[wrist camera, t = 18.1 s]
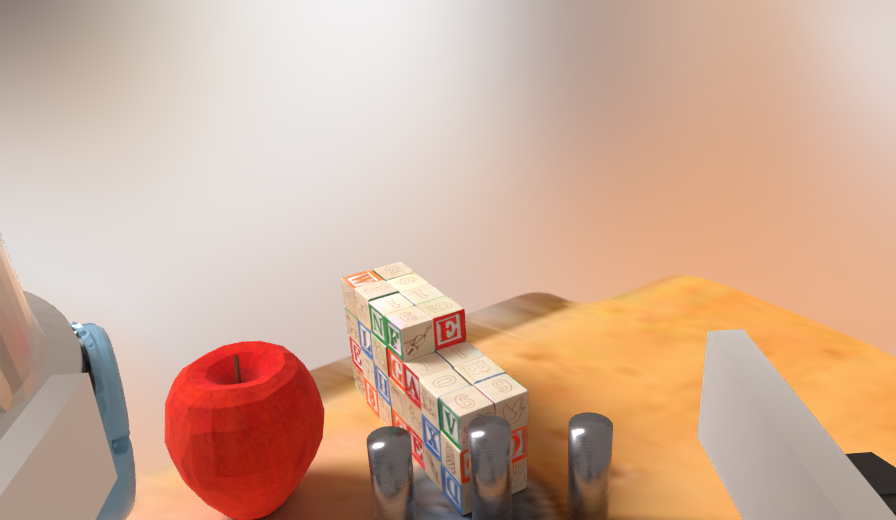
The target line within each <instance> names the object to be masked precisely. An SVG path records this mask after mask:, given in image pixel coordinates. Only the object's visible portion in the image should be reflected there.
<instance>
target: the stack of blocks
mask: <svg viewBox="0 0 896 520" xmlns="http://www.w3.org/2000/svg"><path fill="white" fill-rule="evenodd" d="M341 283H342V289H343V296H344V303H345V313H346V321H347V329H348V334H349V337H350V346H351V353H352V360H353V363H352V367H353V374H354V380H355V387H356V389H357V390H358V391H359V393H360V394H361V395H362V396H363V397H364V399H365V400H366V401H367V404H368V405H369V406H370V407H371V409H372V410H373V411H374V412H375V413H376V415H377V416H378V417H379V418H380V419H381V421H382V422H383V423H384V425H385V426H397V427H401V428H403V429H405V430H406V431H408V433H409V434H410V440H411V452H412V455H413V456H414V458H415V459H416V460H417V461H418V463H419V464H420V465H421V466H422V467H423V468H424V470H425V471H426V474H427V475H428V476H429V477H430V478H431V480H432V481H433V482H434V483H435V485H436V486H437V487H438V488H439V489H440V491H441V492H442V493H444V495H445V496H446V497H447V499H448V500H449V501H450V502H451V503H452V504H453V506H454V507H455V508H456V509H457V510H458V512H459V513H460V514H461V515H462V516H463V515H465V514H468V513H470V512H472V508H471V487H470V467H469V446H468V425H469V423H470V422H471V421H472V420H473V419H475V418H477V417H480V416H484V415H495V416H499V417H502V418H504V419H506V420H507V421H508V422H509V424H510V426H511V462H512V494H514V493H517V492H519V491H521V490H523V489H525V488H526V487H527V458H526V457H527V425H526V424H527V423H528V391H527V389H526V388H524V387H523V386H522V385H520V384H519V383H518V382H517V381H515V380H514V379H513V378H512V377H510V376H509V375H508V374H506V373H505V371H504V370H503V369H501V368H500V367H499V366H498V365H496V364H495V363H494V362H493V361H491V360H490V359H489V358H488V357H485V355H484V354H483V353H482V352H480V351H479V350H478V349H476V348H475V347H474V346H472V345H471V344H470V343H467V342H466V328H465V311H464V309H463V308H462V307H461V306H460V305H458V304H457V303H456V302H454V301H453V300H451V299H450V298H449V297H447V296H445V295H444V294H443V293H441V292H440V291H439V290H437V289H436V288H434V287H433V286H431V285H430V284H429V283H428V282H427V281H425V280H424V279H422V278H421V277H420V276H419V275H417V274H416V273H414V271H413V270H411V269H410V268H409V267H408V266H406V265H405V264H404V263H402V262H398V263H394V264H390V265H386V266H382V267H378V268H374V269H373V271H372V270H368V271H364V272H360V273H357V274H353V275H350V276H346V277H343V278H341Z"/></svg>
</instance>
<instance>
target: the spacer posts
mask: <svg viewBox="0 0 896 520" xmlns="http://www.w3.org/2000/svg"><path fill="white" fill-rule="evenodd" d="M612 435H613V425H612V422H611V421H610V420H609V419H608V418H607V417H605V416H603V415H600V414H597V413H580V414H577V415H575V416H574V417H572V418H571V419H570V421H569V442H568V503H567V520H609V502H610V480H611V457H612ZM468 446H469V467H470V487H471V508H472V520H513V510H512V462H511V426H510V424H509V422H508V421H507V420H506V419H504V418H502V417H499V416H495V415H484V416H480V417H477V418H475V419H473V420H472V421H471V422H470V423H469V425H468ZM367 449H368V458H369V467H370V475H371V484H372V493H373V502H374V511H375V519H376V520H417V511H416V499H415V487H414V475H413V464H412V452H411V440H410V434H409V433H408V431H406V430H405V429H403V428H401V427H397V426H386V427H381V428H379V429H376V430H374V431H373V432H372V433H371V434H370V435H369V436H368V438H367Z"/></svg>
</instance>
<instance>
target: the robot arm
mask: <svg viewBox="0 0 896 520" xmlns="http://www.w3.org/2000/svg"><path fill="white" fill-rule="evenodd" d="M128 422H129V421H128V413H127V407H126V403H125V397H124V392H123V387H122V382H121V378H120V374H119V369H118V365H117V361H116V358H115V354H114V351H113V347H112V344H111V342H110V339H109V337H108V335H107V333H106V332H105V330H104V329H103V328H102V327H100V326H97V325H96V324H92V323H87V324H78V323H74V322H73V323H71V324H69V322H68V321H67V319H66V318H65V316H64V315H63V314H62V313H61V312H59V311H58V310H57V309H56V308H55V307H54V306H53V305H51V304H50V303H48V302H47V301H45V300H43V299H41V298H39V297H37V296H35V295H33V294H31V293H29V292H26V291H23V290H22V288H21V286H20V283H19V281H18V278H17V275H16V272H15V270H14V267H13V265H12V262H11V259H10V257H9V254H8V251H7V249H6V246H5V244H4V241H3V238H2V236H1V233H0V520H126V519H127V517H128V516H129V514H130V513H131V511H132V508H133V506H134V502H135V494H136V478H135V464H134V456H133V449H132V445H131V441H130V439H129V434H130V431H129V423H128ZM697 438H698V440H699V441H700V443H701V445H702V447H703V449H704V450H705V452H706V454H707V456H708V458H709V459H710V461H711V463H712V465H713V467H714V468H715V470H716V472H717V474H718V476H719V477H720V479H721V481H722V483H723V485H724V486H725V488H726V490H727V492H728V494H729V495H730V497H731V499H732V501H733V503H734V504H735V506H736V508H737V510H738V512H739V513H740V515H741V517H742V519H743V520H896V468H895V467H894V466H892V465H891V464H889V463H888V462H886V461H884V460H883V459H881V458H880V457H878V456H877V455H875V454H874V453H872V452H866V453H852V454H845V453H844V452H843V451H842V450H841V448H840V447H839V446H838V445H837V444H836V442H835V441H834V440H833V439H832V437H831V436H830V435H829V434H828V433H827V431H826V430H825V429H824V428H823V426H822V425H821V424H820V423H819V421H818V420H817V419H816V418H815V417H814V415H813V414H812V413H811V412H810V410H809V409H808V408H807V407H806V406H805V404H804V403H803V402H802V401H801V399H800V398H799V397H798V396H797V394H796V393H795V392H794V391H793V390H792V388H791V387H790V386H789V385H788V383H787V382H786V381H785V380H784V379H783V377H782V376H781V375H780V374H779V372H778V371H777V370H776V369H775V368H774V366H773V365H772V364H771V363H770V361H769V360H768V359H767V358H766V356H765V355H764V354H763V353H762V352H761V350H760V349H759V348H758V347H757V345H756V344H755V343H754V342H753V341H752V339H751V338H750V337H749V336H748V334H747V333H746V332H745V331H744V330H743V329H737V330H722V331H708V333H707V343H706V353H705V363H704V373H703V383H702V393H701V404H700V414H699V424H698V434H697Z"/></svg>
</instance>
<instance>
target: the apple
mask: <svg viewBox="0 0 896 520" xmlns="http://www.w3.org/2000/svg"><path fill="white" fill-rule="evenodd" d="M323 425H324V407H323V404H322V400H321V397H320V394H319V391H318V388H317V386H316V384H315V381H314V379H313V377H312V376H311V374H310V373H309V371H308V370H307V368H306V367H305V365H304V364H303V363H302V362H301V361H300V360H299V359H298V358H297V357H296V356H295V355H294V354H293V353H291V352H290V351H289V350H287V349H286V348H284V347H283V346H280V345H276V344H272V343H266V342H262V341H253V342H252V341H251V342H250V341H249V342H239V343H234V344H229V345H224V346H222V347H220V348H218V349H216V350H213V351H211V352H209V353H207V354H205V355H204V356H202V357H200V358H199V359H197V360H196V361H194V362H193V363H191V364H189V365H188V366H187V367H185V368H183V369H182V371H181V372H180V373H179V375H178V376H177V377H176V379H175V380H174V382H173V384H172V387H171V389H170V391H169V394H168V397H167V400H166V403H165V443H166V446H167V449H168V451H169V454H170V456H171V459H172V461H173V462H174V464H175V466H176V468H177V470H178V472H179V474H180V475H181V477H182V479H183V480H184V482H185V483H186V484H187V485H188V486H189V487H190V488H191V489H192V490H193V491H194V492H195V493H196V494H197V495H198V496H199V497H200V498H201V499H202V500H203V501H204V502H205V503H206V504H207V505H209V506H211V507H213V508H214V509H216V510H218V511H219V512H221V513H223V514H225V515H226V516H228V517H230V518H233V519H238V520H252V519H257V518H262V517H264V516H266V515H269V514H271V513H272V512H273V511H275V510H276V509H277V508H278V507H280V506H281V505H282V504H283V503H284V502H285V501H286V500H287V499H288V497H289V496H290V495H291V494H292V493H293V492H294V490H295V489H296V488H297V487H298V485H299V483H300V482H301V480H302V478H303V476H304V475H305V473H306V471H307V470H308V468H309V466H310V464H311V463H312V461H313V459H314V457H315V455H316V453H317V450H318V448H319V445H320V443H321V440H322V438H323Z"/></svg>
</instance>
